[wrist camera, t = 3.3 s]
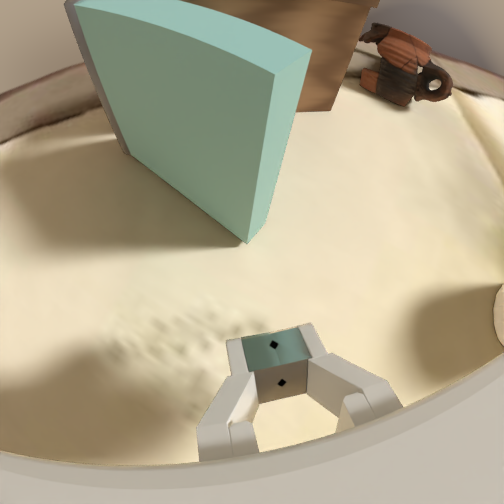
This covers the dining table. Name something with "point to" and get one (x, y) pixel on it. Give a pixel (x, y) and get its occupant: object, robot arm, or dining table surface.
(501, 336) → the white cup
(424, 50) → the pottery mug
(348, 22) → the wooden board
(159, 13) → the teal square slab
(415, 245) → the dining table surface
